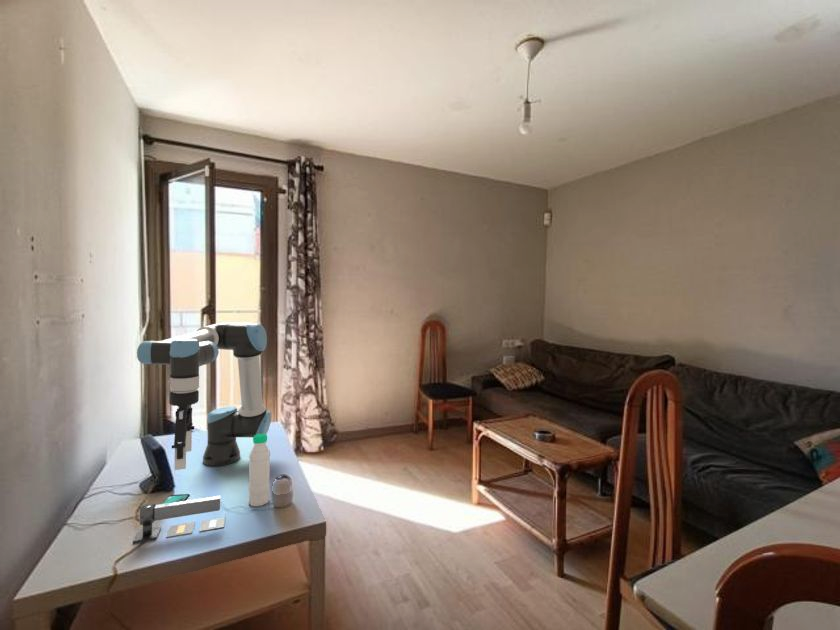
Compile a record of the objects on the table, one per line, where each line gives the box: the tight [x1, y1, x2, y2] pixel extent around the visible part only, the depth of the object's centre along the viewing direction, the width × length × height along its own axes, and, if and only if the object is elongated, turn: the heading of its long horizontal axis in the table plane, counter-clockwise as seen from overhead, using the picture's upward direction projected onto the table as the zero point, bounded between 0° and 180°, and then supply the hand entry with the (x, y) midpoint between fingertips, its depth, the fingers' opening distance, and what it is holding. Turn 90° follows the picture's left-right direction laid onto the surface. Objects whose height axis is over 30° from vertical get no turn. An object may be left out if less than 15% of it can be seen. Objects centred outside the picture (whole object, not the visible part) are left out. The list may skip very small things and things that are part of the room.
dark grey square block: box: [132, 523, 162, 545], centre depth 119 cm, size 6×6×4 cm
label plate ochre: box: [165, 521, 196, 539], centre depth 123 cm, size 6×7×1 cm
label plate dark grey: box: [198, 516, 226, 533], centre depth 126 cm, size 6×7×1 cm
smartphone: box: [161, 493, 191, 504], centre depth 136 cm, size 7×1×15 cm
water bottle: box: [248, 434, 271, 507], centre depth 140 cm, size 7×7×25 cm
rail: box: [139, 495, 221, 526], centre depth 122 cm, size 4×22×5 cm, turn 112°
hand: (183, 459), depth 116 cm, fingers open, 13 cm apart
